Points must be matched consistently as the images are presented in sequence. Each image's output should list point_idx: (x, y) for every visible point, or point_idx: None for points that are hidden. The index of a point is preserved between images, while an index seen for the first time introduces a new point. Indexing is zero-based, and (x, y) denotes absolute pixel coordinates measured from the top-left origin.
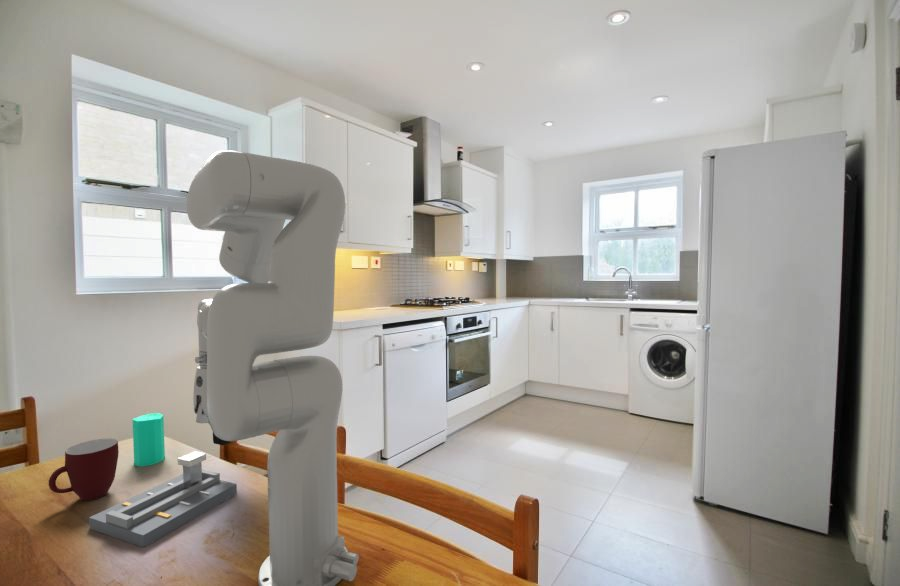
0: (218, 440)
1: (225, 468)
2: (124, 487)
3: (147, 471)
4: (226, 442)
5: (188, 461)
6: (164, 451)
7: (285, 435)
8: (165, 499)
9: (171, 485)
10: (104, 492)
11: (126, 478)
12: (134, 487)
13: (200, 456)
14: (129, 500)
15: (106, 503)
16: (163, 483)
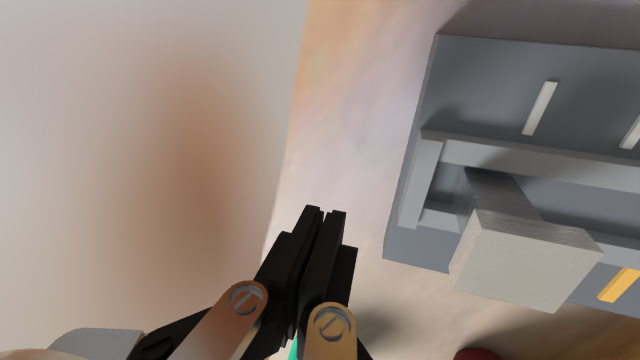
0: (356, 250)
1: (292, 196)
2: (434, 334)
3: (359, 332)
4: (328, 213)
5: (598, 254)
6: (296, 347)
7: None
8: (583, 211)
9: None
10: (484, 355)
11: (396, 348)
12: (432, 320)
13: (522, 234)
14: (578, 296)
15: (513, 330)
16: None
